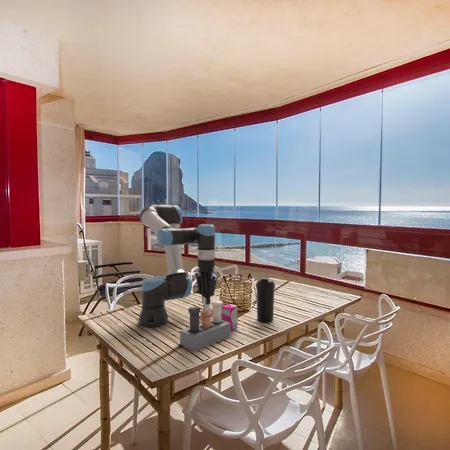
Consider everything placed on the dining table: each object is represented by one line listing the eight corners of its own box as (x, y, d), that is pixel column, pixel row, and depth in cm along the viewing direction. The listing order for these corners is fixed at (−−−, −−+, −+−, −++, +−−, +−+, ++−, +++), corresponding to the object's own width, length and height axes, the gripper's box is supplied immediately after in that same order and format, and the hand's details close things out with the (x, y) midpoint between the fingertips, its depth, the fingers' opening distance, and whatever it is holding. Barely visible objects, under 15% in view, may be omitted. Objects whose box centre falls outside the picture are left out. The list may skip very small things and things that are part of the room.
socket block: (179, 344, 128) (179, 330, 128) (215, 329, 144) (215, 317, 144) (195, 351, 121) (195, 337, 121) (230, 335, 137) (230, 322, 137)
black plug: (185, 330, 127) (185, 309, 127) (195, 326, 131) (195, 306, 131) (193, 333, 124) (193, 311, 123) (202, 329, 127) (203, 308, 127)
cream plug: (209, 321, 137) (209, 302, 137) (216, 318, 141) (217, 299, 141) (217, 324, 134) (217, 304, 134) (224, 321, 138) (224, 301, 137)
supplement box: (228, 325, 150) (228, 303, 150) (237, 328, 146) (237, 305, 146) (221, 328, 146) (221, 306, 145) (230, 331, 142) (230, 308, 141)
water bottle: (275, 317, 161) (276, 276, 161) (273, 324, 152) (274, 280, 151) (257, 315, 164) (257, 275, 163) (254, 322, 154) (254, 279, 154)
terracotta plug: (198, 331, 132) (198, 311, 132) (206, 328, 136) (206, 308, 136) (205, 334, 129) (206, 314, 129) (214, 331, 133) (214, 311, 132)
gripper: (190, 258, 133) (190, 309, 134) (210, 261, 124) (210, 316, 125) (202, 256, 139) (202, 305, 139) (222, 259, 130) (222, 312, 131)
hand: (206, 310), depth 132 cm, fingers closed
